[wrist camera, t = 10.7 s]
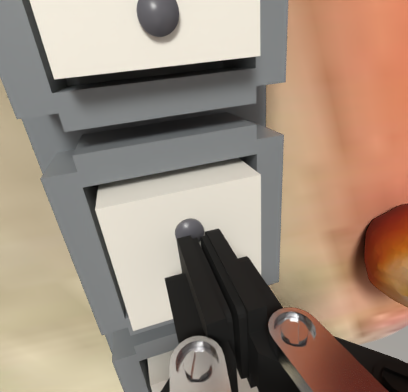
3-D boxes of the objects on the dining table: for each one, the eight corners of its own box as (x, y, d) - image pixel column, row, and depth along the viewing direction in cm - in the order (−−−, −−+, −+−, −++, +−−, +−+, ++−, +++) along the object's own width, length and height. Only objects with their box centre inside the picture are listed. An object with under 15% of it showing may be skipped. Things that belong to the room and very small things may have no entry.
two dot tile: (224, 147, 14) (263, 176, 10) (230, 244, 17) (263, 295, 13) (100, 169, 13) (94, 212, 9) (129, 270, 15) (133, 335, 12)
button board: (251, -204, 10) (335, -370, 6) (258, 343, 24) (285, 396, 20) (-102, -238, 8) (-309, -529, 4) (130, 387, 22) (133, 457, 18)
